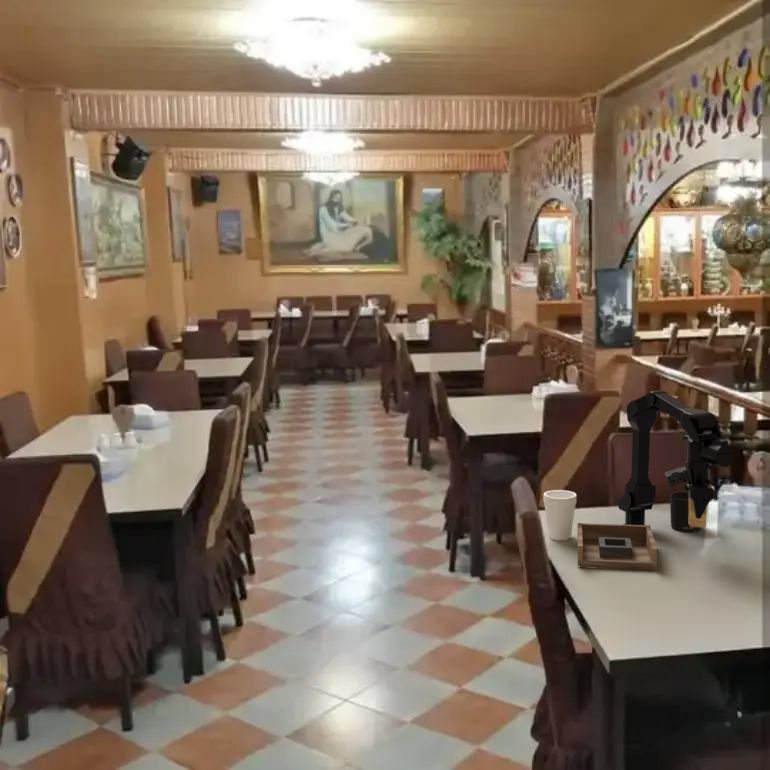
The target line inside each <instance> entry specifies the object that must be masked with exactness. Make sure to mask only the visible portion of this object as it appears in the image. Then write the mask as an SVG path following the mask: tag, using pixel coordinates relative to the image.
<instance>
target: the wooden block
mask: <svg viewBox="0 0 770 770" xmlns="http://www.w3.org/2000/svg"><path fill="white" fill-rule="evenodd" d="M707 507H708V506H707ZM707 507H706V509H705V511H704V513H703V515H702V516H701V518H696V514H695V508H694V502H693V500H692V499H691V498H690V497H689V513H688V523H689V525H690V527H701V528H704V529H705V528H706V527H707V510H708V509H707Z"/></svg>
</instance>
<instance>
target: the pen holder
mask: <svg viewBox="0 0 770 770" xmlns="http://www.w3.org/2000/svg"><path fill="white" fill-rule="evenodd" d="M687 493H689V492H688V491H675V492H672V493H671V494H670V495H669V498H670V500H669V503H670V505H669V507H670V510H669V511H670V512H669V513H670V527H671V528H672V530H674V529H675V530H674V531H677V530H678V532H681V531H682V532H683V533H696V532H699V531H701V529H702V527H690V525H689V523H688V513H689V496H688V494H687Z"/></svg>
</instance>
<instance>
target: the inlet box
mask: <svg viewBox="0 0 770 770" xmlns="http://www.w3.org/2000/svg"><path fill="white" fill-rule="evenodd" d="M654 537H655V536H654V534H653V530H652V528H651V525H648V524H647V525H646V524H645V525H623V524H620V523H619V524H615V523H614V524H613V523H611V524H610V523H586V522H585V523H582V522H581V523H580V522H577V538H576V539H577V540H576V541H577V543H576V544H578V545H577V567H578V566H580V567H596V568H595V569H601V568H608V569H607V570H624V569H634V570H633V571H647V570H651V571H650V572H652V570H653V572H657V569H658V568H657V566H658V565H657V562H658V560H657V559H658V555H657V553H658V548H657V544H656V541H655V538H654ZM611 568H612V569H611ZM654 570H655V571H654Z"/></svg>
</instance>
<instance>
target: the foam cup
mask: <svg viewBox="0 0 770 770" xmlns="http://www.w3.org/2000/svg"><path fill="white" fill-rule="evenodd" d="M577 497H578V496H577V493H576V492H574V491H570V490H564V489H553V490H547V491H545V492H544V493H543V504H544V510H545V517H546V525H547V533H548V538H549V539H550V540H553V539H554V540H553V541H558V540H564V541H568V540H567V539H569V538H570V539H571V538H572V533H573V532H572V531H573V525H574V520H575V519H574V517H575V510H576V504H577ZM570 539H569V540H570Z"/></svg>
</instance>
